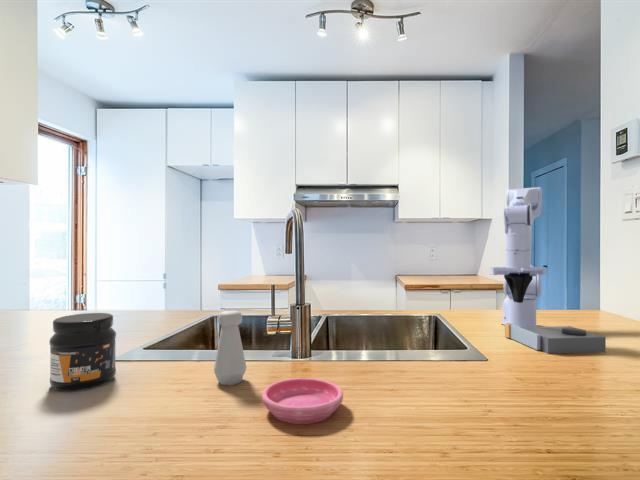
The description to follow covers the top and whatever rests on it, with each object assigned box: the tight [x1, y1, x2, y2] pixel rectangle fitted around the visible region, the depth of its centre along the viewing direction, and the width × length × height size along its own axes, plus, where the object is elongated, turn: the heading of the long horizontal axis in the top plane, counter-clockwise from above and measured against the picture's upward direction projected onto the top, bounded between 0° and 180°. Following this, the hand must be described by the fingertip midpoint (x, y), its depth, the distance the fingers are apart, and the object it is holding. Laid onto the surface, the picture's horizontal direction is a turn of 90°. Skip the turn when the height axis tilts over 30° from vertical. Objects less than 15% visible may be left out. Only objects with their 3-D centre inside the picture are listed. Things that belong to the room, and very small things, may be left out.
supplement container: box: [49, 312, 117, 392], centre depth 72 cm, size 10×10×12 cm
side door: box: [504, 323, 541, 351], centre depth 98 cm, size 13×1×4 cm, turn 4°
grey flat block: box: [520, 325, 607, 355], centre depth 95 cm, size 12×14×4 cm
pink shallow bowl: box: [261, 377, 344, 425], centre depth 60 cm, size 12×12×3 cm
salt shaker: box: [213, 309, 247, 386], centre depth 72 cm, size 6×6×13 cm
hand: (518, 302), depth 103 cm, fingers closed
